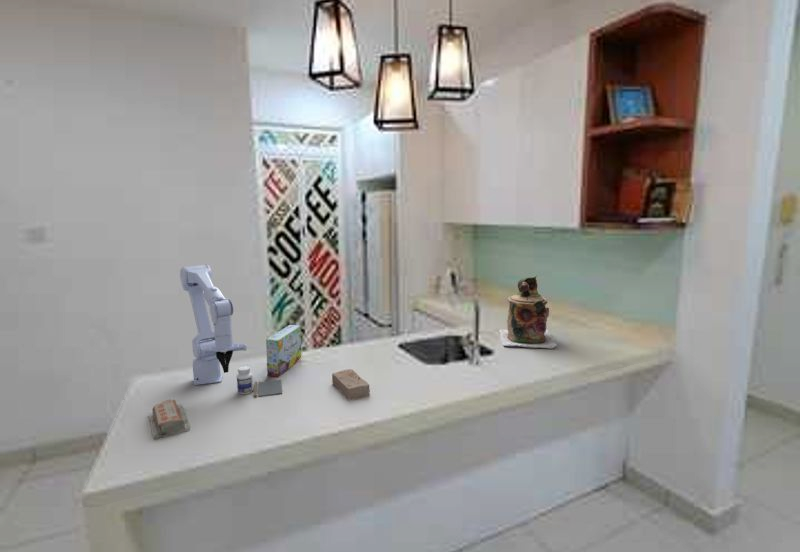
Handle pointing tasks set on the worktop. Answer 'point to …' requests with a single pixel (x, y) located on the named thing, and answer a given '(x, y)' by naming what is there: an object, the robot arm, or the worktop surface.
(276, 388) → the rubber mat
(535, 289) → the cookie jar
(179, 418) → the packaged product
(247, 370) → the pill bottle
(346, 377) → the brick
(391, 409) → the worktop surface
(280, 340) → the snack box
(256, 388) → the walnut strip
